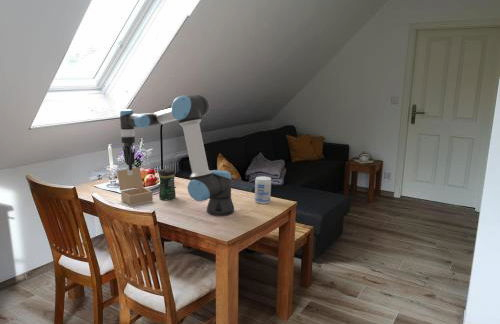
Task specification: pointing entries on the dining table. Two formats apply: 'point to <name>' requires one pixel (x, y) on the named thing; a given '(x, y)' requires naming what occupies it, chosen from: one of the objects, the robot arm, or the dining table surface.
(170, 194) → the coffee jar
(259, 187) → the supplement tub
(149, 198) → the mailer box
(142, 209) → the dining table surface
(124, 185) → the lid
